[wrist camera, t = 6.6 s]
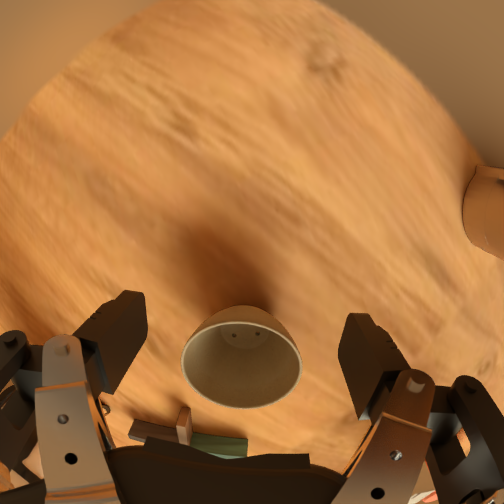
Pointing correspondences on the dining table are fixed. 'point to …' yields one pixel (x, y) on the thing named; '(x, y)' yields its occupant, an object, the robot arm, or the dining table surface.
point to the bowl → (241, 359)
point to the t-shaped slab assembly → (190, 437)
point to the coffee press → (27, 452)
